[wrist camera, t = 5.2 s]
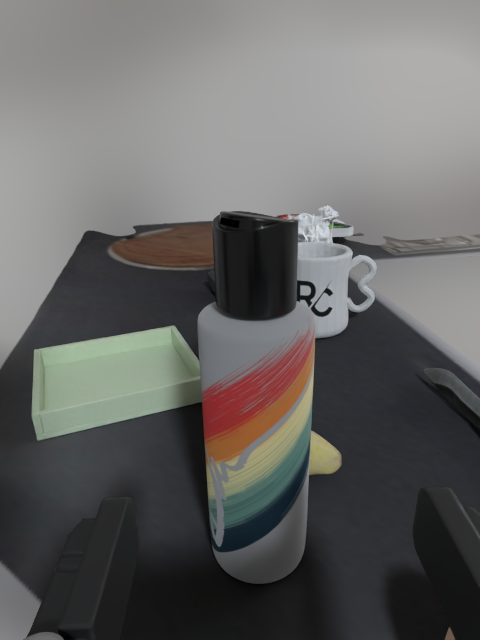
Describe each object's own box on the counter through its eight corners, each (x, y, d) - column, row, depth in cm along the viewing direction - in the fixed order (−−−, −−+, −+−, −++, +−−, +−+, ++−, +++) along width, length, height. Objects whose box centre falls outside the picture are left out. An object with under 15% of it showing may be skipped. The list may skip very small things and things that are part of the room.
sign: (358, 226, 97) (320, 231, 93) (358, 235, 98) (320, 239, 94) (300, 213, 116) (266, 216, 111) (300, 220, 116) (266, 223, 112)
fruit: (242, 494, 31) (241, 456, 30) (223, 383, 45) (222, 353, 44) (343, 484, 32) (346, 446, 31) (293, 378, 46) (294, 348, 45)
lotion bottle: (192, 540, 28) (164, 210, 20) (261, 494, 31) (259, 196, 23) (254, 608, 24) (248, 227, 16) (325, 547, 27) (348, 208, 19)
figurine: (348, 208, 80) (348, 273, 81) (272, 215, 88) (274, 275, 89) (321, 200, 69) (322, 276, 70) (238, 210, 77) (240, 277, 78)
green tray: (37, 441, 37) (31, 415, 36) (38, 370, 49) (34, 349, 48) (211, 399, 42) (210, 376, 41) (176, 344, 54) (174, 325, 53)
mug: (279, 342, 54) (280, 260, 50) (272, 314, 62) (273, 242, 58) (383, 339, 54) (392, 257, 50) (362, 311, 62) (368, 239, 58)
